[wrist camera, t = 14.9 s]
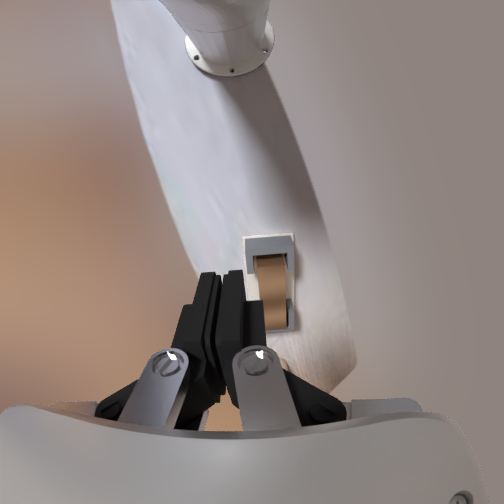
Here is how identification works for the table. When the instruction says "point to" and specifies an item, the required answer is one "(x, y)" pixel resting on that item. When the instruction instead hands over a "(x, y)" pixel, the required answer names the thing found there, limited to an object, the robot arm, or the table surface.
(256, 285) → the endcap rail
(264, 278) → the brown curved block
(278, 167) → the table surface
